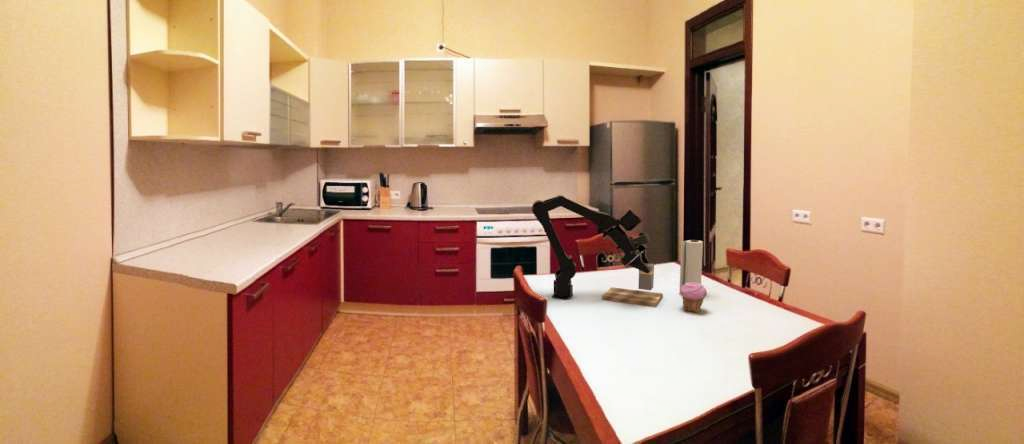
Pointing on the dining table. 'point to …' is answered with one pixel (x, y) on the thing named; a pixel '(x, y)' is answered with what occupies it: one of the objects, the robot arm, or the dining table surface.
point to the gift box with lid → (646, 278)
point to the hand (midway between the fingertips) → (650, 271)
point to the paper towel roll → (691, 262)
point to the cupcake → (693, 295)
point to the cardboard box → (633, 297)
